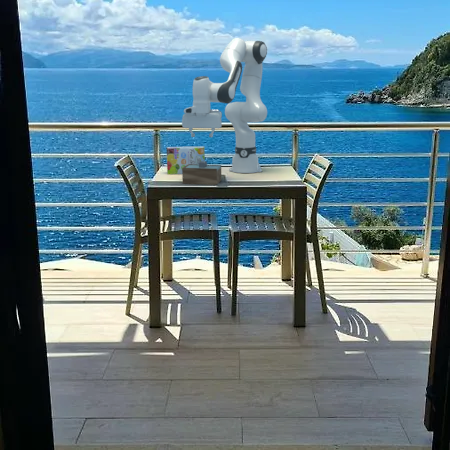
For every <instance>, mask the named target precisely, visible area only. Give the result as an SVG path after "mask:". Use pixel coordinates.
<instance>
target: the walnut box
mask: <svg viewBox="0 0 450 450" xmlns="http://www.w3.org/2000/svg"><path fill="white" fill-rule="evenodd" d="M189 165H198V164H188V165H186V166H184V167H183V168H182V174H181V176H182V177H181V178H182V184H183V185H213V186H217V185H218V184H220V182H222V164H207V166H221V168H220V169H219V170H217V169H213V168H186V167H187V166H189Z"/></svg>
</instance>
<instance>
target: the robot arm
mask: <svg viewBox="0 0 450 450" xmlns="http://www.w3.org/2000/svg"><path fill="white" fill-rule="evenodd" d="M267 54H268V47H267V45H266V43H265V42H264V41H261V40H244V39H242V38H240V37H235V38H232V39H231V40H230V41H229V43H227V45H226V46H225V48H224V49H223V51H222V53H221V55H220V56H219V64H220V66H221V68H222V69H223V71H225V72H227V73H229V76H228V78H227V81H225V82H213V81H211V80H210V79H209V77H208V76H207V75H205V76H204V75H203V76H196V77H195V78H194V79H193V81H192V82H193V83H192V97H193V101H192V106H189V107H186V108H184V110H183V113H184V114H183V115H182V118H181V126H182V127H183V128H184V129H188V130H189V131H188V132H189V133H190V136H191V138H195V137H196V134H195V133H194V131H193V129H210V130H211V132H210V133H209V136H208V137H209V138H213V136H214V132H215V131H216V129H221V128H222V126H223V125H222V124H223V122H222V117H223V116H222V115H223V113H222V111H221V110H219V109H211V103H220V104H221V103H222V104H227V105H226V106H225V108H224V115H225V118H226V119H227V120H228V121H229V122H230V123H231V125H232V127H233V129H234V133H235V146H234V148H235V149H234V155H233V156H232V161H231V164H232V165H231V167H230V168H229V170H228V171H229V172H232V173H233V172H234V173H238V174H254V173H261V172H263V170H262V167H261V166H260V163H259V157H258V155H257V146H256V132H255V131H254V130H253V129H252V128H250V126H249V125H248V123H260V122H264V121H265V120H266V119H267V116H268V109H267V106H266V105H265V104H264V102H263V101H262V98H261V84H262V79H263V62H264V61H265V59H266V58H267ZM242 63H244V68H243V65H242ZM240 79H241V81H240ZM239 81H240V87H239V91H240V92H241V94H242V95H243V96H245V101H234V102H233V100H234V98H235V96H236V91H237V87H238V84H239Z"/></svg>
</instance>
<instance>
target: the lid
mask: <svg viewBox="0 0 450 450" xmlns="http://www.w3.org/2000/svg"><path fill="white" fill-rule="evenodd" d="M207 165H208V161H201V162H199V165H189V166H187V167H186V168H213V169H217V170H219V169H220V168H221V169H222V165H221V166H207Z"/></svg>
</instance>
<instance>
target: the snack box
mask: <svg viewBox="0 0 450 450" xmlns="http://www.w3.org/2000/svg"><path fill="white" fill-rule="evenodd" d="M205 152H206V149H205V145H204V146H203V145H202V146H167V147H166V171H167V172H166V173H167V175H182V168H183V167H184V166H186V165H188V164H198V165H199V162H201V161H205V158H206V156H205V154H206V153H205Z"/></svg>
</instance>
